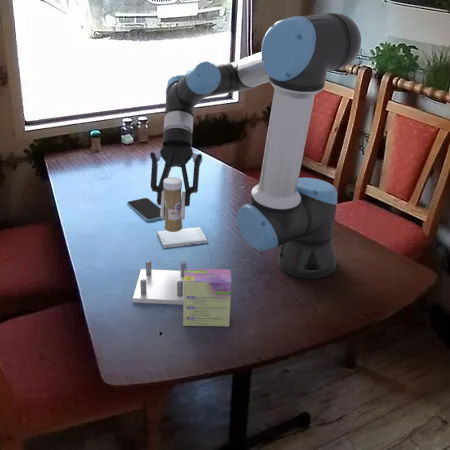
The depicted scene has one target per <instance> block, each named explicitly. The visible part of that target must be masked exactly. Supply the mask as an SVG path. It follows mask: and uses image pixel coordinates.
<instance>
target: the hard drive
mask: <svg viewBox="0 0 450 450" xmlns="http://www.w3.org/2000/svg"><path fill="white" fill-rule="evenodd" d="M156 234H157V237H158V240H159V242H160V245H161V247H162V249H166V248H177V247H183V246H184V245H186V246H192V245H191V244H195V245H199V244H198V243H203V244H207V243H208V239H207V237H206V235H205V234H204V232H203V230H202V228H201V227H200V226H199V227H189V228H182V229H181V230H180V231H177V232H169V231H167V230H160V231H156ZM206 242H207V243H206Z"/></svg>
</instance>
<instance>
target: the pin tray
mask: <svg viewBox="0 0 450 450" xmlns="http://www.w3.org/2000/svg"><path fill="white" fill-rule="evenodd" d="M184 269H187V262H185V261H182V262H180V270H170V269H169V270H168V269H153V268H152V261H151V260H146V261H145V268H141V269H140V272H139V276H138V280H137V283H136V287H135V289H134V294H133V297H132V303H136V304H137V303H139V304H158V305H159V304H161V305H180V306H181V305H182V306H183V289H184Z"/></svg>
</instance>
